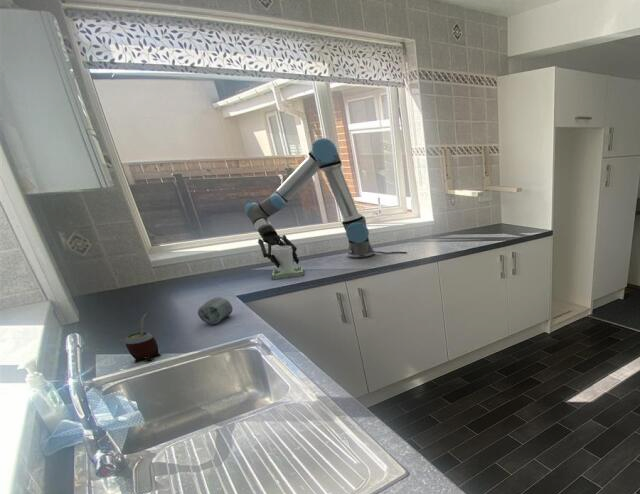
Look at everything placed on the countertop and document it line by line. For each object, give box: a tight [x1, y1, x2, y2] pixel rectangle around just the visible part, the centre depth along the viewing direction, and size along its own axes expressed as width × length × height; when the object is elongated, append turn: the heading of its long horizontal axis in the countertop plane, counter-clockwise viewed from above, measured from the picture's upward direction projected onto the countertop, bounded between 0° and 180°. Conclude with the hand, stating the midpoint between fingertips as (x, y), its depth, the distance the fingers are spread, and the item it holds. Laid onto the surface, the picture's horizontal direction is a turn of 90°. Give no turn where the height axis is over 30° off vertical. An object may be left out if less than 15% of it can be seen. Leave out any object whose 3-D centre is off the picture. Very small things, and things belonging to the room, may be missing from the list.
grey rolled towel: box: [197, 296, 234, 326], centre depth 160 cm, size 14×10×10 cm
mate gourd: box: [124, 311, 161, 363], centre depth 129 cm, size 8×8×15 cm
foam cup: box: [271, 245, 295, 274], centre depth 217 cm, size 10×9×13 cm
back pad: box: [271, 266, 304, 280], centre depth 220 cm, size 14×12×2 cm
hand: (288, 264), depth 216 cm, fingers closed on foam cup, 9 cm apart
